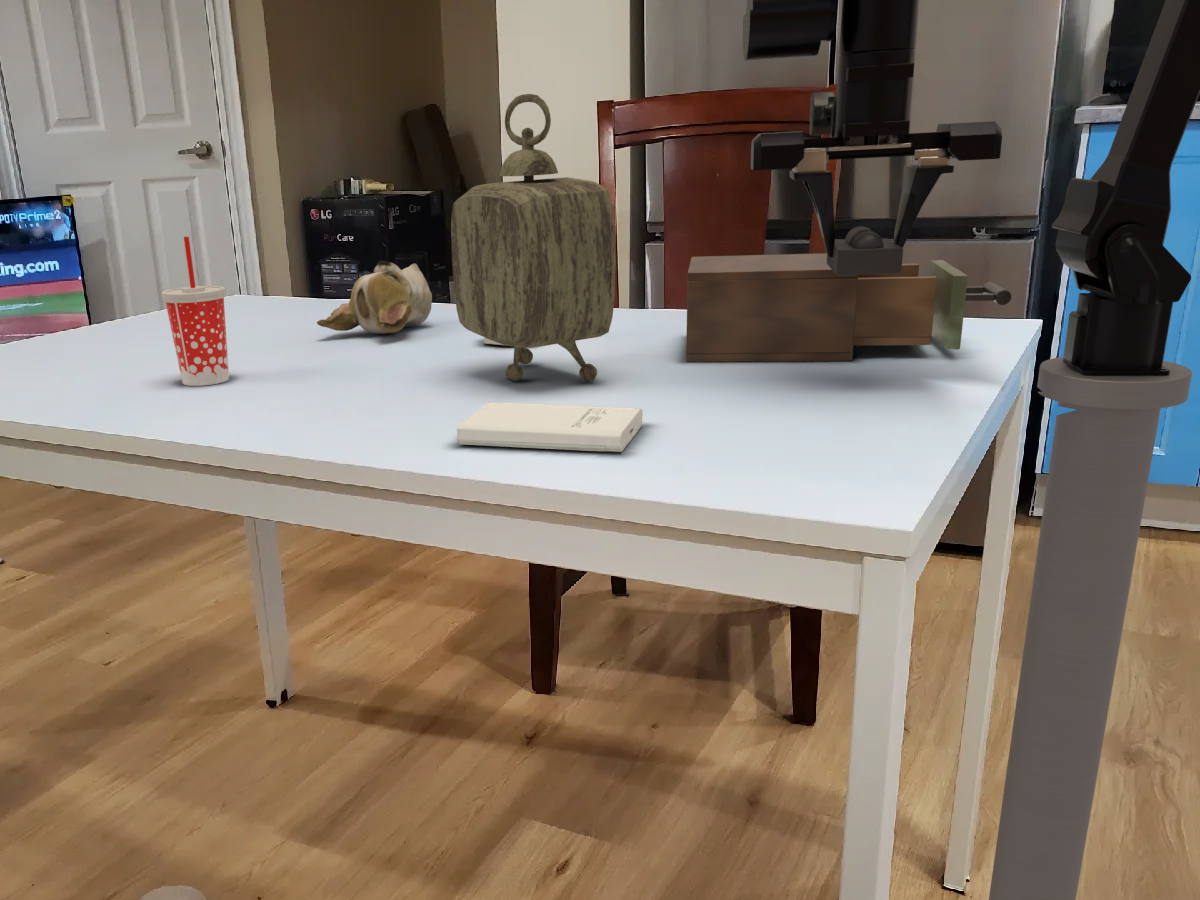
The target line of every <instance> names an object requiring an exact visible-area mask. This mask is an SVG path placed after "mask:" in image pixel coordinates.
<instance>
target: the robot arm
mask: <svg viewBox="0 0 1200 900" xmlns="http://www.w3.org/2000/svg"><path fill="white" fill-rule="evenodd" d="M919 11H920V0H841V12H840V26H839V27H840V29H839V30H840V31H839V49H838V66H837V67H838V68H837V83H836V84H837V85H836V95H835V91H816V92H812V93H811V96H810V103H809V104H810V106H809V125H808V126H809V128H808V129H809V130H808V131H809V136H810V137H811V138H805V131H784V132H782V131H781V132H763V133H758V134H757V135H755V136H754V138H753V139H752V140H751V147H750V170H752V171H775V170H790V171H789V178H790V179H792V180H793V181H802V182H803V184H804V186H805V189H806V191H807V194H808V195H809V198H810V201H811V203H812V206H813V208H814V211H815V215H816V218H817V222H818V226H819V231H820V234H821V237H822V242H823V245H824V249H825V253H827V256H828V257H829V258H832V257H833V248H834V244H835V240H836V233H835V213H834V211H835V210H834V189H833V171H830V170H827V165H829V161H833V160H836V161H837V160H853V159H873V158H875V159H876V158H895V157H896V158H897V157H909V159H910V164H907V165H906V164H905V165H903V176H902V187H901V188H902V190H901V194H900V199H899V205H898V212H897V216H896V222H895V228H894V233H893V242H894V243H895V244H897V245H899V246H900V247H902V248H903V249H904V246H905V244H906V242H907V240H908V238H909V235H910V234H911V231H912V229H913V226H914V224H915V222H916V220H917V218H918V216H919V214H920V212H921V210H922V207H923V206H924V204H925V203H926V201H927V199H928V197H929V196H930V194H931V192H932V190H933V189H934V187H935V185H936V184H937V182H938V181H939V179H940V178H941V176H942V175H944V174H953V173H954V172H955V165H951V159H955V160H956V161H957V162H959V161H961V162H962V161H981V160H999V159H1001V153H1002V143H1003V131H1002V127H1001V126H1000V125H999V124H998V123H997V122H996V121H995V120H994V121H991V120H990V121H989V120H988V121H987V120H986V121H985V120H984V121H982V120H981V121H965V122H946V123H937V127H936V130H935V131H930V132H929V131H928V132H927V131H925V132H910V127H911V126H910V125H911V113H912V102H913V101H912V100H913V91H914V90H913V88H914V75H915V63H916V51H917V50H916V49H917V37H918V23H919ZM837 12H838V0H746V4H745V13H744V14H743V17H742V55H743V60H744V62H752V61H768V60H781V59H798V58H799V59H800V58H815V57H817V56H818V54H819V51H820V49H821V43H822V42H823V43H831V42H833V39H834V36H835V31H836V24H837V16H838V15H837V14H838V13H837ZM1199 97H1200V0H1165V1H1164V4H1163V7H1162V9H1161V12H1160V14H1159V18H1158V20H1157V23H1156V25H1155V28H1154V31H1153V33H1152V36H1151V39H1150V42H1149V44H1148V46H1147V49H1146V52H1145V54H1144V57H1143V60H1142V63H1141V65H1140V69H1139V70H1138V74H1137V76H1136V79H1135V81H1134V84H1133V87H1132V89H1131V92H1130V95H1129V97H1128V101H1127V103H1126V106H1125V108H1124V111H1123V114H1122V117H1121V119H1120V122H1119V124H1118V127H1117V130H1116V133H1115V135H1114V138H1113V140H1112V143H1111V146H1110V149H1109V151H1108V154H1107V156H1106V157H1105V159H1104V161H1103V162H1102V164H1101V165H1100V166H1099V168H1098V169H1097V170H1096V171H1095V173H1094V174H1093V175H1092V177H1091V178H1090V179H1088V178H1080V177H1072V178H1070V180H1069V183H1068V186H1067V188H1066V193H1065V199H1064V204H1063V206H1062V209H1061V211H1060V213H1059V215H1058V217H1057V218H1056V219H1055V220H1054V221H1053V223H1052V224H1051V228H1053V229H1057V230H1058V231H1057V233H1056V240H1055V250H1056V252H1057V254H1058V256H1059V258H1060V260H1061V262H1062V263H1063V264H1064V265H1065V266H1066V267H1068V268H1069V270H1072V274H1073V278H1074V282H1075V286H1076V289H1077V290H1080V291H1086V292H1079V293H1078V299H1077V306H1076V310H1072V311H1071V312H1069V314H1068V321H1067V327H1066V335H1065V342H1064V349H1063V350H1064V351H1063V356H1062V357H1063V362H1065V363H1066V364H1067V365H1069V366H1070V367H1072V368H1073V369H1074V370H1076V371H1077V372H1079V373H1080V374H1082V375H1084V376H1168V375H1169V374H1170V369H1168V368H1166V367H1164V366H1162V365H1163V361H1164V358H1165V352H1166V347H1167V346H1166V345H1167V340H1168V335H1169V328H1170V323H1171V317H1172V312H1173V305H1174V303H1178V302H1179V301H1180V300H1181V298H1182V297H1183V295H1184V293H1185V291H1186V289H1187V287H1188V286H1189V284H1190V282H1191V280H1192V275H1191V274H1190V272H1189V271H1187V270H1186V268H1185V267H1184V266H1183V265H1182V264H1181V262H1179V261H1178V259H1176V257H1175V256H1174V255H1173V254H1172V253H1171V252H1170V251H1169V250H1168V248H1166V247H1165V246H1164V243H1165V240H1166V234H1167V229H1168V226H1169V225H1168V224H1169V220H1170V216H1171V211H1172V193H1171V170H1172V166H1173V162H1174V160H1175V157H1176V154H1177V152H1178V149H1179V147H1180V145H1181V142H1182V139H1183V137H1184V135H1185V132H1186V129H1187V127H1188V124H1189V122H1190V119H1191V118H1192V114H1193V112H1194V109H1195V108H1196V107H1195V106H1196V104H1197V101H1198V98H1199ZM813 136H829V137H814V138H812V137H813ZM891 139H896V142H891Z"/></svg>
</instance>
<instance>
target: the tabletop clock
mask: <svg viewBox="0 0 1200 900" xmlns="http://www.w3.org/2000/svg"><path fill="white" fill-rule="evenodd" d="M523 103H534V104H535V105H537V106H539V108H540V109H541V110H542V113H543V116H544V120H545V121H544V128H543V129H542V131H541V132H540V133H539V134H537V135H534V130H533V128H531V127H525V128H523V129H522V130H521V136H519V135H517V134H515V132H513V130H512V128H511V117H512V114H513V112H514V110H515V108H516V107H518V106H519V105H521V104H523ZM551 118H552V117H551V112H550V109H549V106H548V104H547V103H546V102H545V100H544V99H543V98H541V97H540V96H539V95H537V94H533V93H525V94H521V95H518V96H515V97H514V98H513V99H512V100H511V101H510V103H509V104H508V106H507V108H506V110H505V116H504V128H505V130H506V134H507V135H508V137H509V140H511V141H512V142H513V143H515V144H516V145H518V146H521V149H520V150H516V151H513V152H511V153H510V154H509V155H508V156H507V157H506V158H505V159H504V161H503V163H502V165H501V168H500V172H499V177H523V180H513V181H501V182H491V183H484V184H483V183H482V184H478V185H475V186H472V187H471V188H470V189H469V190H467V191H466V192H465V193H464V194H462V195H461V196H460V197H459V198H457V199H456V200H455V201H454V202H453V203H452V209H451V210H452V211H451V222H450V223H451V224H450V233H451V235H450V237H451V265H452V279H453V289H454V290H453V293H454V301H455V306H456V307H455V308H456V313H457V317H458V322H459V323H460V324H461V325H462V326H463V328H465V329H466V330H467V331H469V332H471V333H473V334H476V335H478V336H481V337H482V338H484V339H485V338H487V339H490V340H492V341H495V342H498V343H500V344H503V345H502V346H505V345H506V347H513V348H514V349H513V360H512V361H513V362H512V363H511V364H509V365H508V366H507V368H506V370H505V377H506V378H507V379H508V380H509V381H511V382H518V381H520V380H521V379H522V377H523V374H524V371H523V368H522V366H521V365H529V364H530V363H531V362H532V361H533V359H534V354H533V352H532V351H531V350H530V349H532V348H540V347H545V346H551V345H558V346H560V347H561V348H563V349H565V350H566V351H567V352H568V353H569V354H570V355H571V356H572V358H573V359H574V360H575V361H576V363H577V364H578V365H579V366H580V369H579V377H580V378H581V379H582V380H583V381H584V382H592V381H594V380H595V379H596V378H597V375H598V369H597V368H596V367H595V365H593V364H592V363H586V361H585V360H584V357H583V356H582V354H581V351H580V350H579V348H578V345H577V343H576V342H577V341H583V340H589V339H594V338H600V337H602V336H604V335H606V334H609V332H610V328H611V325H612V320H613V315H614V307H615V299H616V298H615V297H616V277H617V276H616V272H617V271H616V270H617V256H616V235H615V223H614V222H615V221H614V214H613V206H612V203H611V198H610V195H609V191H608V190H607V189H606V188H605V187H603V186H602V185H601V184H600V183H598V182H595V181H593V180H588V179H582V178H575V177H568V176H566V177H555V178H554V177H553V178H540V179H535V176H546V175H555V174H559V171H558V168H557V165H556V163H555V161H554V159H553V158H552V156H551V155H549V153H547V152H546V151H544V150H541V149H536V148H535V145H539V144H540V143H542V142H543V141H544V140H545V139H546V137H547V136H548V133H549V132H550V128H551V125H552V124H551V123H552V119H551ZM519 364H521V365H519Z"/></svg>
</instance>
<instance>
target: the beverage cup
mask: <svg viewBox="0 0 1200 900" xmlns="http://www.w3.org/2000/svg"><path fill="white" fill-rule="evenodd" d="M183 242H184V243H183V244H184V249H185V250H184V251H185V256H186V257H185V258H186V263H187V271H188V272H187V273H188V279H189V286H184V287H178V288H170V289H167V290H163V291H162V292H161V293H160V295H161V297H162V302H163V303H165V306H166V311H167V317H168V320H169V327H170V331H171V335H172V340H173V345H174V349H175V355H176V359H177V365H178V369H179V374H180V378H181V383H182V384H183V385H184V386H190V387H192V386H193V387H194V386H195V387H201V386H212V385H217V384H222V383H225V382H227V381H229V379H230V372H229V357H228V356H229V354H228V341H227V325H226V312H225V311H226V310H225V298H226V297H227V294H226V287H225V286H221V285H196V279H195V273H194V265H193V258H192V252H191V243H190V237H189V236H183Z"/></svg>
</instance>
